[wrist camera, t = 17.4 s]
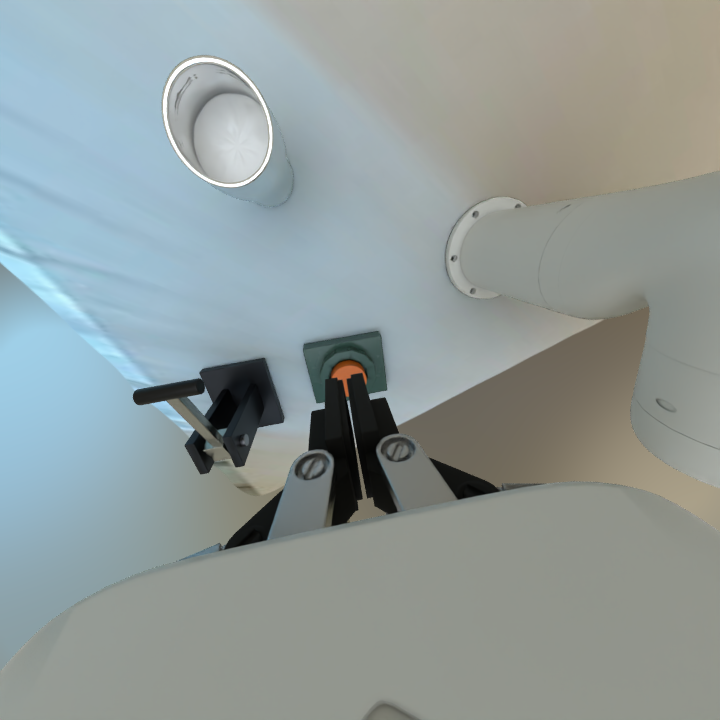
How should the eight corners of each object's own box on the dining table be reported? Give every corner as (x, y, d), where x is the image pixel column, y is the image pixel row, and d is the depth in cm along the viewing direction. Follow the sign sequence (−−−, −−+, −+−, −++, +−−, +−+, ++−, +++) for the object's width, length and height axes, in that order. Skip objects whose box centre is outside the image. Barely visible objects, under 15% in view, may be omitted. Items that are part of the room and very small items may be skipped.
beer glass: (310, 189, 31) (298, 151, 18) (262, 224, 32) (217, 213, 19) (270, 122, 28) (221, 17, 15) (219, 163, 29) (129, 99, 16)
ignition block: (378, 330, 40) (383, 340, 36) (384, 383, 43) (389, 396, 40) (303, 344, 39) (301, 354, 35) (317, 396, 43) (316, 410, 39)
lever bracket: (202, 368, 39) (150, 424, 27) (264, 357, 39) (239, 407, 28) (229, 428, 43) (194, 498, 32) (284, 418, 44) (270, 482, 32)
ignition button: (362, 357, 37) (364, 362, 35) (367, 386, 39) (368, 393, 37) (328, 363, 37) (328, 369, 35) (334, 393, 39) (334, 399, 37)
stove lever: (139, 382, 24) (127, 403, 23) (200, 371, 25) (192, 391, 23) (205, 445, 33) (200, 464, 31) (250, 437, 33) (247, 455, 32)
